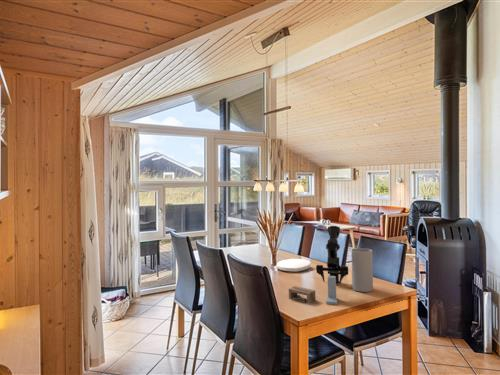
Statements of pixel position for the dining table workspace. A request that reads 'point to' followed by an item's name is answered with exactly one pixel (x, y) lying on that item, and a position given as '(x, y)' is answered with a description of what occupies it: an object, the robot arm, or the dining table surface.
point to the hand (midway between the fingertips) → (331, 282)
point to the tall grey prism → (331, 291)
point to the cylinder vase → (362, 270)
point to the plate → (293, 265)
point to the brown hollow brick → (304, 291)
